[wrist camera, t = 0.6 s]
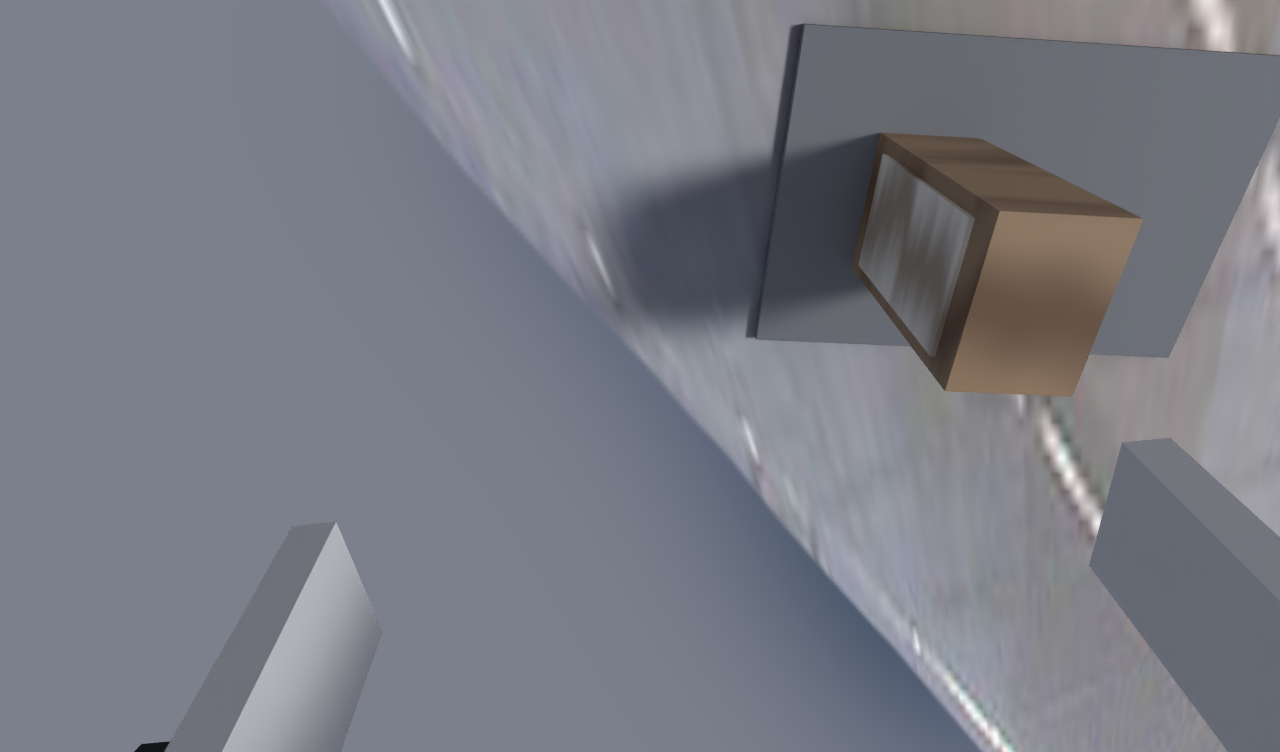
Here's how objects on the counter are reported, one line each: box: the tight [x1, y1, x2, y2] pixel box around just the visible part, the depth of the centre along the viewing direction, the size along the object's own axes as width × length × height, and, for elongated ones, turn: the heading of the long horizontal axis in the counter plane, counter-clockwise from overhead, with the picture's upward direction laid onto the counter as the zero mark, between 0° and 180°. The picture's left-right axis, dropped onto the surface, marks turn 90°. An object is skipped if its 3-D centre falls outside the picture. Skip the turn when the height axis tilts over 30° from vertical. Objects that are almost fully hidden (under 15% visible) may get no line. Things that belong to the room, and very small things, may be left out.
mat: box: [755, 24, 1280, 358], centre depth 38 cm, size 16×24×1 cm, turn 86°
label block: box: [852, 132, 1143, 396], centre depth 32 cm, size 7×5×13 cm
